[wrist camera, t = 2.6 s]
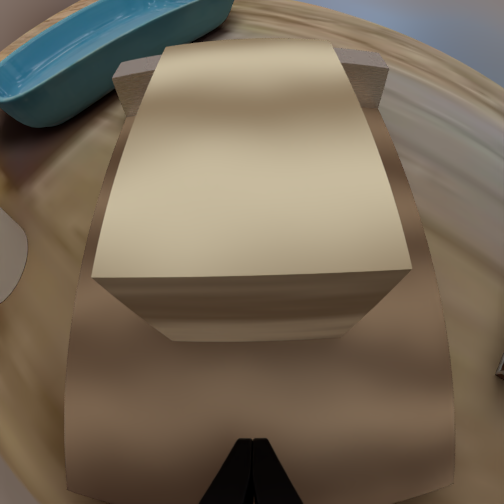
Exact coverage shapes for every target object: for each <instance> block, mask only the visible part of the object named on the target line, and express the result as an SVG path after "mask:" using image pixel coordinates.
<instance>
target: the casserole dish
mask: <svg viewBox="0 0 504 504" xmlns="http://www.w3.org/2000/svg"><path fill="white" fill-rule="evenodd" d="M233 2H234V0H99V1H97V2H95V3H93V4H91V5H89V6H87V7H85V8H83V9H81V10H79V11H77V12H75V13H73V14H71V15H70V16H68V17H66V18H64V19H63V20H61V21H59V22H57V23H56V24H54V25H52V26H51V27H49V28H48V29H46V30H44V31H43V32H41V33H40V34H38V35H37V36H35V37H34V38H32V39H31V40H29V41H28V42H26V43H25V44H23V45H22V46H21V47H19V48H18V49H16V50H15V51H14V52H12V53H11V54H10V55H9V56H7V57H6V58H5V59H4V60H2V61H1V62H0V108H1V109H2V110H4V111H5V112H6V113H7V114H8V115H10V116H11V117H13V118H14V119H16V120H17V121H19V122H21V123H22V124H25V125H27V126H30V127H35V128H43V127H53V126H56V125H59V124H62V123H64V122H66V121H67V120H69V119H71V118H72V117H74V116H76V115H77V114H79V113H80V112H82V111H83V110H85V109H86V108H88V107H89V106H91V105H92V104H93V103H95V102H96V101H98V100H99V99H101V98H102V97H103V96H105V95H106V94H108V93H109V92H111V91H112V90H114V89H115V86H114V84H113V81H112V77H113V75H114V73H115V72H116V70H117V69H118V67H119V65H120V64H121V62H125V61H130V60H135V59H140V58H145V57H150V56H156V55H162V54H163V52H164V50H165V47H168V46H175V45H182V44H189V43H191V42H193V41H194V40H196V39H198V38H200V37H202V36H204V35H205V34H207V33H209V32H211V31H212V30H214V29H215V28H217V27H218V26H219V25H221V24H222V23H223V22H224V21H225V19H226V18H227V16H228V14H229V12H230V10H231V7H232V4H233Z"/></svg>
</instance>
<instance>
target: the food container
mask: <svg viewBox="0 0 504 504" xmlns="http://www.w3.org/2000/svg"><path fill="white" fill-rule="evenodd" d="M495 375H497V376H498V377H500V378H501V379H503V380H504V353H503V356H502V359H501V361H500V364H499V366H498V369H497V371H496V374H495Z"/></svg>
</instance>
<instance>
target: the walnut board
mask: <svg viewBox="0 0 504 504" xmlns="http://www.w3.org/2000/svg"><path fill="white" fill-rule="evenodd" d="M361 108H362V111H363V113H364V116H365V118H366V120H367V123H368V125H369V128H370V131H371V133H372V136H373V138H374V141H375V144H376V146H377V149H378V152H379V155H380V157H381V160H382V163H383V166H384V169H385V172H386V175H387V178H388V181H389V184H390V187H391V190H392V193H393V197H394V200H395V203H396V207H397V210H398V214H399V217H400V221H401V224H402V228H403V232H404V236H405V240H406V244H407V248H408V252H409V256H410V260H411V265H412V270H411V271H410V272H409V273H408V274H407V275H406V276H405V277H404V278H403V279H402V280H401V281H400V282H399V283H398V284H397V285H396V286H395V287H394V288H393V289H392V290H391V291H390V292H389V293H388V294H387V295H386V296H385V297H384V298H383V299H382V300H381V301H380V302H379V303H378V304H377V305H376V306H375V307H374V308H373V309H372V310H370V311H369V312H368V313H367V314H366V315H365V316H364V317H363V318H362V319H361V320H360V321H359V322H357V323H356V324H355V325H354V326H353V327H352V328H351V329H350V330H349V331H347V332H346V333H345V334H344V335H343V336H342V337H336V338H321V339H305V340H284V341H251V342H192V341H172V340H170V339H169V338H168V337H166V336H165V335H163V334H162V333H161V332H159V331H158V330H157V329H155V328H154V327H152V326H151V325H150V324H148V323H147V322H146V321H145V320H143V319H142V318H141V317H139V316H138V315H137V314H135V313H134V312H133V311H131V310H130V309H129V308H128V307H126V306H125V305H124V304H123V303H121V302H120V301H119V300H118V299H116V298H115V297H114V296H113V295H111V294H110V293H109V292H108V291H107V290H105V289H104V288H103V287H102V286H101V285H99V284H98V283H97V282H96V281H95V280H93V279H92V278H91V275H92V270H93V265H94V260H95V255H96V250H97V246H98V241H99V237H100V232H101V228H102V224H103V220H104V216H105V212H106V208H107V204H108V201H109V197H110V193H111V190H112V186H113V183H114V180H115V176H116V173H117V170H118V166H119V163H120V160H121V157H122V154H123V151H124V148H125V145H126V142H127V139H128V136H129V134H130V131H131V128H132V125H133V123H134V120H135V117H136V116H131V117H126V120H125V122H124V125H123V127H122V130H121V132H120V135H119V138H118V140H117V143H116V146H115V148H114V151H113V154H112V157H111V160H110V163H109V166H108V169H107V172H106V175H105V178H104V181H103V184H102V187H101V191H100V194H99V197H98V201H97V204H96V208H95V211H94V215H93V219H92V223H91V226H90V230H89V234H88V238H87V243H86V247H85V251H84V256H83V260H82V265H81V270H80V275H79V280H78V285H77V291H76V297H75V303H74V309H73V316H72V323H71V330H70V339H69V348H68V358H67V369H66V384H65V408H64V445H65V467H66V481H67V490H69V491H71V492H74V493H77V494H81V495H84V496H87V497H90V498H93V499H97V500H100V501H104V502H108V503H112V504H198V503H199V501H200V500H201V498H202V497H203V495H204V493H205V492H206V490H207V489H208V487H209V485H210V484H211V482H212V481H213V479H214V477H215V476H216V474H217V472H218V471H219V469H220V468H221V466H222V464H223V463H224V461H225V459H226V457H227V456H228V454H229V452H230V451H231V449H232V447H233V446H234V444H235V442H236V440H237V439H239V438H251V439H252V440H253V439H254V438H267V439H268V440H269V442H270V444H271V445H272V447H273V449H274V451H275V453H276V455H277V457H278V459H279V460H280V462H281V464H282V466H283V468H284V470H285V471H286V473H287V475H288V477H289V479H290V480H291V482H292V484H293V486H294V488H295V489H296V491H297V493H298V495H299V496H300V498H301V500H302V501H303V503H304V504H392V503H396V502H400V501H404V500H407V499H410V498H414V497H417V496H420V495H423V494H427V493H430V492H432V491H435V490H438V489H441V488H444V487H446V486H449V485H452V484H454V468H455V412H454V394H453V382H452V371H451V362H450V353H449V346H448V339H447V332H446V326H445V320H444V314H443V309H442V303H441V298H440V293H439V289H438V284H437V279H436V275H435V271H434V267H433V262H432V259H431V255H430V251H429V247H428V243H427V240H426V236H425V233H424V229H423V226H422V222H421V219H420V216H419V213H418V210H417V206H416V203H415V200H414V197H413V194H412V192H411V189H410V186H409V183H408V180H407V177H406V175H405V172H404V169H403V167H402V164H401V161H400V159H399V156H398V154H397V151H396V149H395V146H394V144H393V142H392V139H391V137H390V135H389V132H388V130H387V128H386V125H385V123H384V121H383V119H382V117H381V114H380V112H379V110H378V109H376V108H365V107H361ZM254 504H255V503H254Z"/></svg>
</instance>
